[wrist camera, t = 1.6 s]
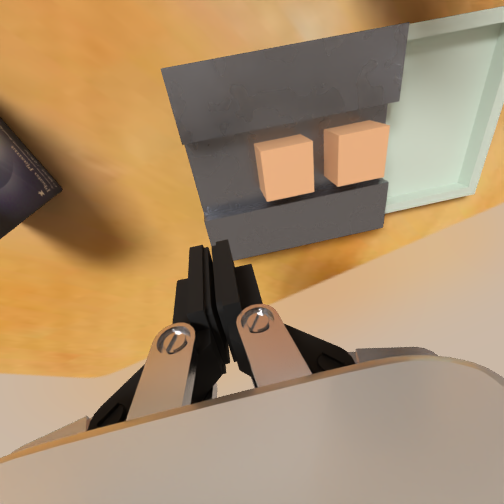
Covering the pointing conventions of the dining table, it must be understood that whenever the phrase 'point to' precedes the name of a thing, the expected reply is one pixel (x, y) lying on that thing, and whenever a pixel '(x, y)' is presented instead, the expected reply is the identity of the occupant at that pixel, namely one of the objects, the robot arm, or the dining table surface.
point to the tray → (445, 108)
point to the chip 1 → (285, 167)
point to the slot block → (284, 133)
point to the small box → (21, 181)
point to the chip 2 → (355, 152)
